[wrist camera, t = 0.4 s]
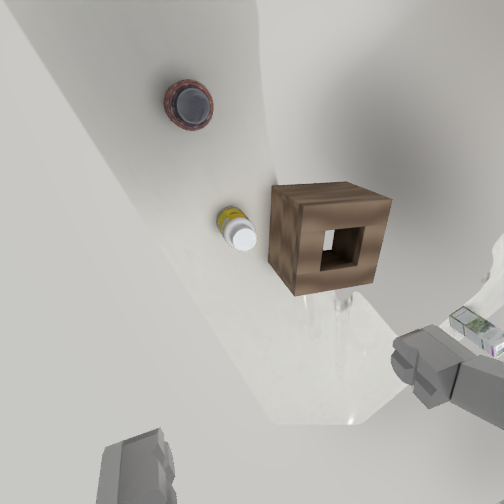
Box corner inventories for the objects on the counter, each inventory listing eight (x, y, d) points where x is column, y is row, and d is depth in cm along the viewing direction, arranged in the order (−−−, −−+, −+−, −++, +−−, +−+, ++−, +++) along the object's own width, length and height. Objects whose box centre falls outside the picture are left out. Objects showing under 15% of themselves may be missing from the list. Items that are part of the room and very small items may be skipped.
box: (272, 185, 55) (303, 206, 44) (346, 181, 59) (392, 199, 48) (268, 262, 62) (294, 296, 51) (335, 253, 66) (372, 283, 55)
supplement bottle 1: (161, 82, 43) (164, 75, 33) (202, 83, 44) (217, 77, 35) (166, 127, 45) (171, 132, 36) (204, 126, 47) (219, 132, 37)
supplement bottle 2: (249, 213, 56) (267, 232, 47) (235, 237, 57) (250, 260, 49) (224, 201, 53) (238, 219, 45) (210, 226, 54) (222, 248, 46)
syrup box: (450, 326, 93) (496, 360, 81) (448, 314, 90) (496, 348, 78) (464, 316, 94) (513, 349, 81) (463, 304, 90) (513, 336, 78)
